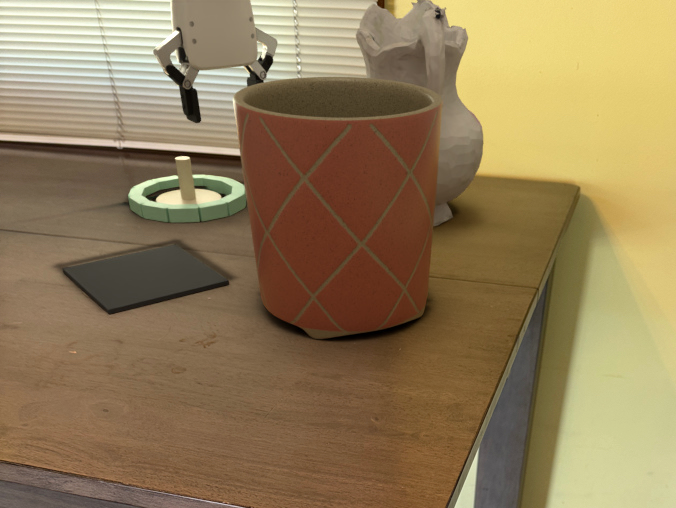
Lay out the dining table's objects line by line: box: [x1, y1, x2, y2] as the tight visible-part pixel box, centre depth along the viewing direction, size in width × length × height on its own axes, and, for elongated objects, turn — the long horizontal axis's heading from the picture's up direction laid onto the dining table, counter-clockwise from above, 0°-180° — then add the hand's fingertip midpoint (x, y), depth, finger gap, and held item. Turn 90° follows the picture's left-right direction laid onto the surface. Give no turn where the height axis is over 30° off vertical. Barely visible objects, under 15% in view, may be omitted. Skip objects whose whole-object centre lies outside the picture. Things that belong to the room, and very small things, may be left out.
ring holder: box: [155, 155, 223, 205], centre depth 105 cm, size 9×9×6 cm
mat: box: [62, 243, 230, 315], centre depth 86 cm, size 14×14×1 cm
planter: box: [232, 76, 443, 340], centre depth 75 cm, size 19×19×20 cm
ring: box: [127, 174, 247, 224], centre depth 106 cm, size 16×16×2 cm
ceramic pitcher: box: [355, 0, 484, 227], centre depth 97 cm, size 22×20×25 cm
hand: (226, 116), depth 104 cm, fingers open, 9 cm apart
